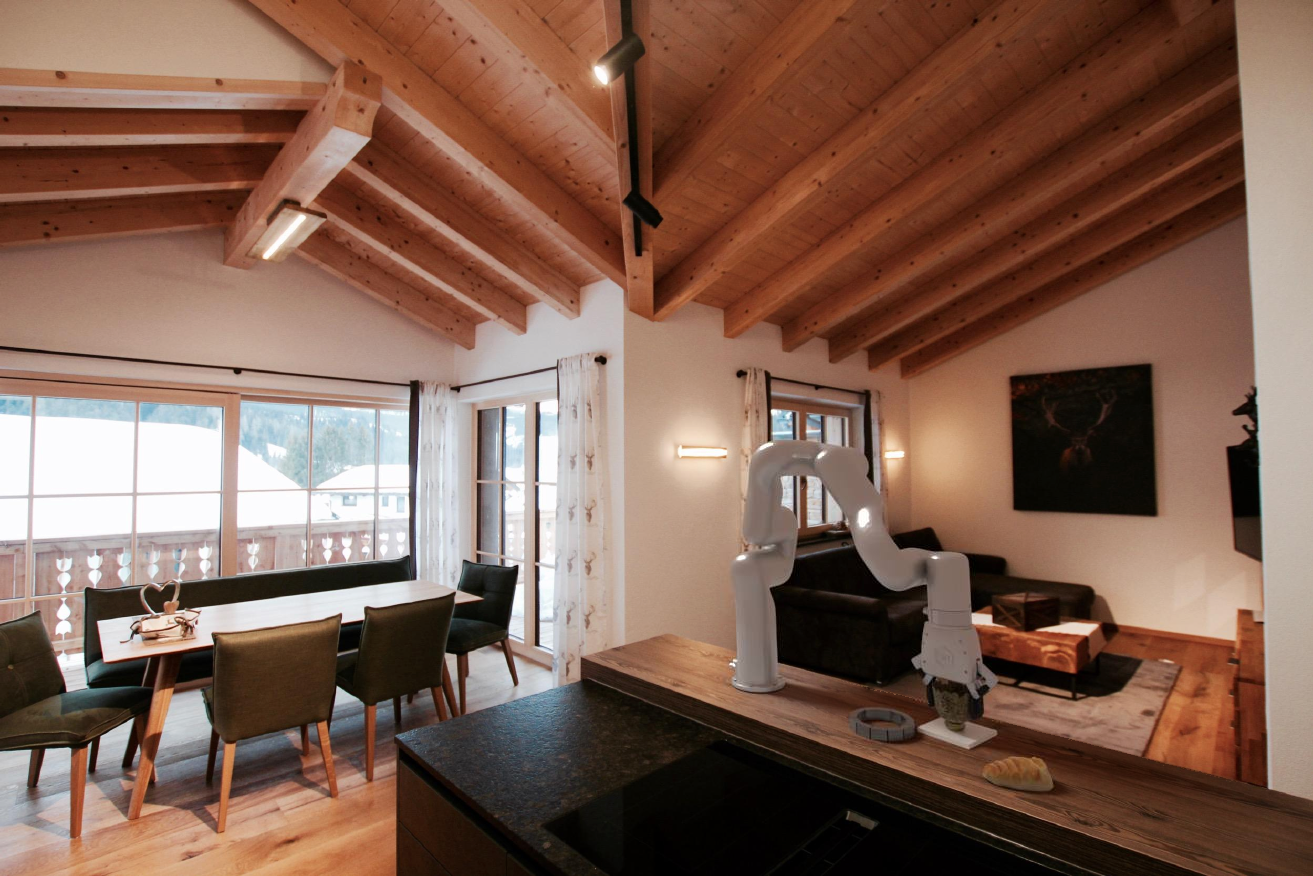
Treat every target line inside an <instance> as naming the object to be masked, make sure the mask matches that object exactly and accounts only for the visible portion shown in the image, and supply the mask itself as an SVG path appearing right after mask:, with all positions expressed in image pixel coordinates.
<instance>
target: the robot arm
mask: <svg viewBox="0 0 1313 876" xmlns="http://www.w3.org/2000/svg"><path fill="white" fill-rule="evenodd" d="M869 465H870V464H869V460H868V459H867V457H866V455H865V454H864V453H863V452H862V451H861V450H859V449H858V448H855V447H851V446H842V445H836V444H831V443H830V444H829V443H825V442H818V441H813V440H805V439H804V440H801V439H790V438H789V439H788V438H787V439H785V438H783V439H781V438H780V439H775V440H770V441H768V442H766V443H764V444H761V445H760V446H759V447H758V448H757V449H756V450H755V451H754V453H753V454H752V456H751V458H750V460H749V467H748V483H747V491H746V496H745V503H744V508H743V509H744V511H743V517H742V525H741V532H742V533H741V534H742V537H743V539H744V541H745V542H746V543H747V544H748V545H751V546H754V547H761V548H758V549H752V550H751V549H750V550H747V551H744V552H742V553H740V554H738V555H737V556H736V557H735V558H734V559H733V561H732V562H731V564H730V570H729V571H730V580H731V584H732V590H733V596H734V607H735V627H736V629H735V631H736V655H737V657H736V658H734V659H733V660H732V662H730V663H729V665H728V666H729V669H732V670H734V673H735V674H734V675H733V676H732V677H731V684H732V686H733V687H734V688H736V689H739V690H741V691H745V692H749V693H771V692H775V691H778V690H781V689H783V688H784V687H785V686H786V680H785V678H784V677H783V676H782V675H780V674H779V673H778V671H779V669H778V668H779V667H778V664H779V663H778V645H777V644H778V642H777V616H776V614H777V613H776V605H775V601H774V597H773V596H772V593H771V590H770V588H773V587H776V586H780V585H783V584H784V583H785V582H787V581H788V580H789V579H790V577H791V574H792V573H793V568H794V562H795V555H796V550H797V543H798V537H799V536H798V534H799V524H798V519H797V517H796V515H795V513H794V512H793V511H792V510H791V509H790V508H789V507H787V506H786V505H782V503H783V496H784V487H783V483H782V477H786V476H787V477H789V476H790V477H791V476H792V477H803V476H804V477H805V476H807V477H813V478H818V479H819V480H820V482H821V483H822V485H823V486H824V487H825V489H826V490H827V492H828V493H829V494H830V496H831V497H832V499H833V501H835V503H836V504H837V506H838V507H839V509H840V510H841V511H842V513H843V514H844V516H845V517H846V519H847V521H848V524H849V529H850V533H851V536H852V540H853V543H854V545H855V548H856V550H857V553H858V554H859V556H860V558H861V559H862V561H863V563H865V565H866V567H867V568H868V569H869V571H870V572H871V573H872V575H873V576H874V577H875V578H876V580H877V581H878V582H879V583H880V584H881V585H882V586H884V587H885V588H887V589H889V590H891V591H895V592H901V591H906V590H909V589H911V588H914V587H919V586H922V585H926V587H927V589H926V590H927V604H928V605H927V606H924V607H923V609H922V613H923V614H924V615H927V619H928V621H924V624H923V625H924V626H923V631H922V638H921V639H922V640H921V653H919V654H918V655H916V656H914V657H912V658H911V662H912V664H913V666H914V667H915V669H916V671H917V673H918V675H919V676H920V678H921V679H922V682H923V684H924V685H926V686H925V687H926V688H925V689H926V691H925V692H926V700H927V706H928V707H930V708H932V707H936V706H935V701H934V694H933V688H932V682H933V684H934V682H935V680H937V681H938V679H942V680H945V681H952V682H956V683H960V684H963V685H965V684H966V685H967V687H968V689H969V691H970V692H971V694H972V697H970V699H969V701H970V718H971V719H970V720H972V721H977V720H980V718H983V716H984V713H985V705H984V696H986V695H987V694H988V693H989V692H991V691H992V690H993V688H994V687H995V686H996V684H997V683H998V682H999V678H998V676H996V675H995V673H994V672H992V671H991V670H990V669H989V668H988V667H987V666H986V665H985V664H984V663H983V657H982V651H981V650H982V649H981V644H980V639H979V636H978V632H977V629H976V626H974V625H973V619H972V618H973V615H972V601H971V599H972V598H971V580H970V577H971V576H970V565H969V564H970V563H969V562H970V561H969V559H968V556H966V555H965V554H963V553H960V552H956V551H955V552H954V551H931V550H927V549H922V548H916V547H907V548H903V549H900V548H899V547H898V546H897V544H896V543H895V542H894V540H893V539H892V538H891V536H890V534H889V533H888V531H887V529H886V527H885V524H884V520H883V511H884V510H883V509H884V504H885V500H884V498H883V496H882V495H881V494H880V492H879V491H878V490H877V488H876V487H875V485H873V483H872V481H870V479H869V477H868V476H867V475H868V473H869V469H870V466H869ZM983 678H984V679H985V681H984V683H983V684H982V682H981V680H982V679H983ZM928 703H929V704H928Z"/></svg>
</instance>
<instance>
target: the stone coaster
mask: <svg viewBox="0 0 1313 876" xmlns="http://www.w3.org/2000/svg"><path fill="white" fill-rule="evenodd" d="M944 721H945V720H944V719H943V718H942V717H941V716H939V717H938V718H936V719H934V720H931V721H928V722H926V723H925V724H924V723H923V724H921V725H920V726H917V727H916V728H917V729H916V731H917V733H921V734H923V735H926V736H929V737H931V738H935V739H938V740H941V741H944V742H946V743H949V744H953V745H954V746H955V745H956V746H958V747H961V748H964V749H967V750H971V749H973V748H974V747H976V746H978V745H980V744H982V743H985V742H986V741H988V740H991V739H992V738H994V737H996V736H997V735H998V731H997V729H993V728H991V727H990V728H989V727H986V726H983V725H980V724H977V723H975V722H974V723H973V722H971V721H967V722H965V724H966V727H965V729H964V730H963V731H953V730H950V729H948V728H947V727H946V726H945V724H944Z"/></svg>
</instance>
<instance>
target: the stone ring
mask: <svg viewBox="0 0 1313 876" xmlns="http://www.w3.org/2000/svg"><path fill="white" fill-rule="evenodd" d="M875 720H880V721H886V722H892V723H894V724H898V725H900V726H891V727H883V726H875V725H872V724H868V723H866V721H875ZM849 728H850V729H851V731H853V732H854V733H855V734H857V735H859V736H861V737H864V738H867V739H869V740H873V741H880V742H887V743H888V742H889V743H890V742H902V741H907V740H909V739H911V738H913V737H914V736H915V720H914V718H913V717H912V716H911V715H909V714H908V713H905V712H902V711H899V710H896V709H895V708H886V707H878V706H877V707H876V706H873V707H871V706H870V707H860V708H857V709H854V710H852V711H850V715H849Z"/></svg>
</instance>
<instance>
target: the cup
mask: <svg viewBox="0 0 1313 876" xmlns="http://www.w3.org/2000/svg"><path fill="white" fill-rule="evenodd" d="M947 681H948V682H947V683H942V680H938V679H937V680H935V682H934V684H933V682H932V688H933V694H934V701H935V706H934V707H935V710H936V712H937V713H938V715H939V717H942V718H943V719H944V720H945V721H944V724H945V726H946V727H947V728H948V729H950V730H953V731H963V730H964V729H965V727H966V724H965V722H970V721H969V720H972V719H971V718H970V701H969V699H970V697H972V694H971V692H970V691H969V689H968V687H967V685H966V684H960V683H956V682H952V681H949V680H947Z"/></svg>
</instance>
